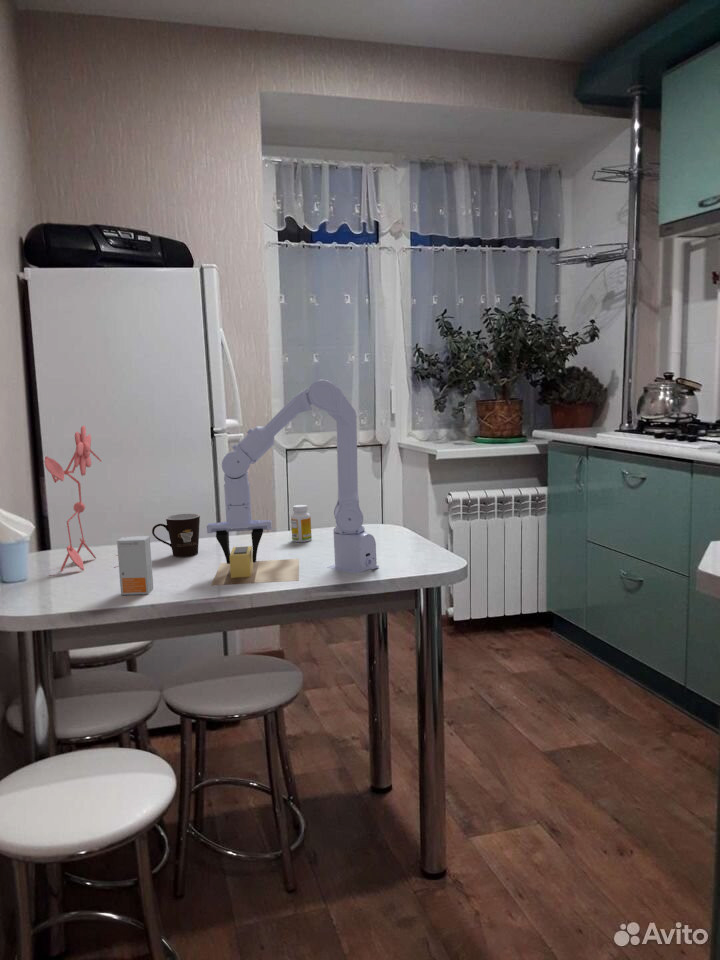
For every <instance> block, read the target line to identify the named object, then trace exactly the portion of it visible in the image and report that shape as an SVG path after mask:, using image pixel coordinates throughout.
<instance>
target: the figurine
mask: <svg viewBox="0 0 720 960" xmlns="http://www.w3.org/2000/svg"><path fill="white" fill-rule="evenodd" d="M74 443H75V446H76V447H75V452H74V453H73V454H72V457H71V459H70V461H69V463H68V466H67V467H66V469H65V470H64V469H63V467H62V465H60V463H58V461H56V460H55V459H53V458H51V457H49V456H45V457H44V466H45V468H46V470H47V472H49V474H51V477H52V480H53V481H54V483H57V482H58V481H61V482H64V480H65V476H66V475H67V476H68V477H69V478H71V479H72V480H73V481H74V482H75V483H76V484H77V488H78V498H79V499H78V500H79V501H78V502H75V503H74V505H73V511H74V513H73V514H72V516H70V518H69V519H67V521H66V527H67V532H68V533H67V534H68V538H69V545H67V546H66V552H67V554H66V556H65V559H64V561H63V563H62V565H61V568H60V571H62V572H63V571H64V569H65V566H66V565H67V563H68V559H69V558H70V560H71V561H72V562H73V563H74V564H75V565H76V566H77V567H78V568H79V569H80V570H81V571H85V565H84V562H83V559H82V557H81V555H80V552H81V549H82V548H83V546H84V548H86V550H87V551H88V552H89V554H90V555H91V556H92V557H93V558H94V559H97V557H96V555H95V554H94V553H93V551H92V550H91V549H90V548H89V546H88V545H87V544H86V540H85V539H84V537H85V536H84V532H83V528H82V524H81V517H80V514H81V513H83V512H84V511H85V509H86V506H85V504H84V503H83V501H82V491H81V489H82V487H81V485H82V484H81V483H80V480H78V479H77V478H75V477H74V476H73V475H71V474H74V473H75V470H76V468H77V467H79V470H80V475H81V476H82V477H83V476H86V473H87V469H86V468H90V467H91V466H92V460H91V457H90V454H92V455H93V456H94V457H95V458H96V459H97V460H99V462H102V459H101V458H100V457H99V456H98V455H96V453H95V452H94V451H93V450H92V449H91V445H92V436H91V434H90V433H89V434H88V435H87V429H86V426H85V425H82V426H81V427H80V432H79V431H76V432H75V433H74ZM72 463H74V464H73V467H72V470H69V469H70V468H71V466H72ZM76 515H77V518H78V519H77V520H78V524H79V529H80V534H81V538H79V541H80V544H79V547H78V549H77V550H76V549H75V548H74V547H73V545H72V537H71V531H70V525H69V524H70V523H69V522H70V521H71V520H72V519H73V518H74V517H75V516H76ZM116 556H118V554H116ZM115 568H119V565H117V566H114V567H113V569H115ZM48 576H49V577H50V576H51V577H55V576H56V575H55V574H48Z"/></svg>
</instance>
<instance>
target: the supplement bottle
mask: <svg viewBox="0 0 720 960" xmlns="http://www.w3.org/2000/svg"><path fill="white" fill-rule="evenodd" d="M308 510H309V506H308V505H307V504H296V505H293V506H292V511H293V513H292V514H291V515H290V523H291V525H290V526H291V527H290V528H291V541H292V542H294V543H306V542H310V541H312V521H311V520H312V518H311V517H312V516H311V514H310V513H309V512H308Z"/></svg>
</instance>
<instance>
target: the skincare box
mask: <svg viewBox="0 0 720 960" xmlns="http://www.w3.org/2000/svg"><path fill="white" fill-rule="evenodd" d="M116 542H117V543H116V544H117V545H116V547H117V555H118V557H117V558H118V559H117V560H118V572H119V575H118V576H119V587H120V595H121V596H125V595H126V596H127V595H133V596H134V595H135V596H136V595H149V594H150V593H151V592H152V591H153V590H154V580H153V565H152V552H151V537H150V535H137V536H136V535H135V536H122V537H120V538H119V539H117V541H116Z"/></svg>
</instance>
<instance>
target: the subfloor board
mask: <svg viewBox="0 0 720 960" xmlns="http://www.w3.org/2000/svg"><path fill="white" fill-rule="evenodd" d="M299 576H300V558H288V559H274V560H272V559H271V560H269V559H268V560H256V562H253V570H252V574H251V577H236V578H231V571H230V564H227V562H220V564H219V566H218V567H217V571H216V573H215V575H214V578H213V580H212V582H211V584H210V586H225V585H229V586H230V585H246V584H261V583H279V582H298V581H300V580H299V579H300V577H299Z"/></svg>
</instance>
